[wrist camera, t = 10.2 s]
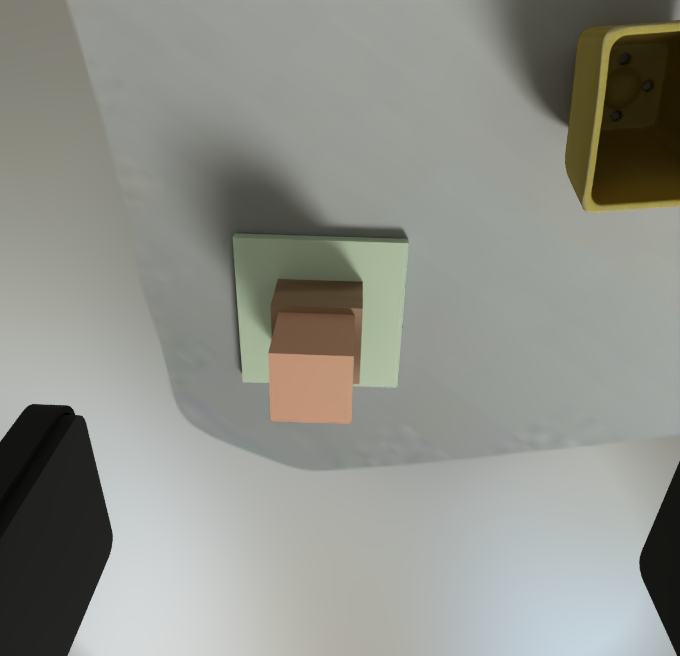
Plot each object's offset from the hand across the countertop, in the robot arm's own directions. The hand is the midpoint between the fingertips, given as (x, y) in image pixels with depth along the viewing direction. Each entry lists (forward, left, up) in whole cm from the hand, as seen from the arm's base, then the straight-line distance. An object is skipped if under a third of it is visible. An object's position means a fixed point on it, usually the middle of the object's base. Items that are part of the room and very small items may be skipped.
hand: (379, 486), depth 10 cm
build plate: (+15, -3, -33) cm, 36 cm away
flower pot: (-1, +15, -33) cm, 36 cm away
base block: (+15, -3, -32) cm, 35 cm away
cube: (+15, -3, -28) cm, 32 cm away
